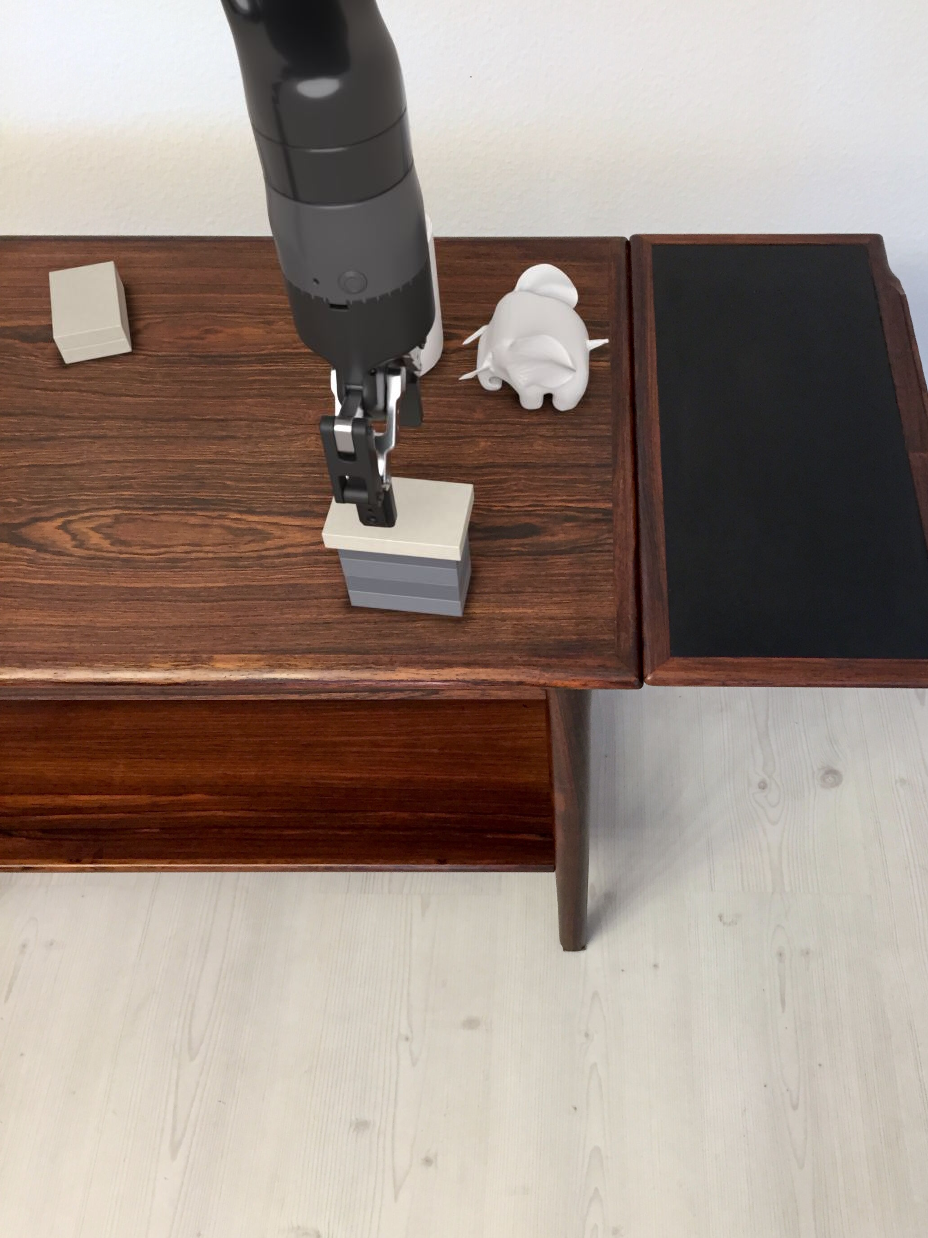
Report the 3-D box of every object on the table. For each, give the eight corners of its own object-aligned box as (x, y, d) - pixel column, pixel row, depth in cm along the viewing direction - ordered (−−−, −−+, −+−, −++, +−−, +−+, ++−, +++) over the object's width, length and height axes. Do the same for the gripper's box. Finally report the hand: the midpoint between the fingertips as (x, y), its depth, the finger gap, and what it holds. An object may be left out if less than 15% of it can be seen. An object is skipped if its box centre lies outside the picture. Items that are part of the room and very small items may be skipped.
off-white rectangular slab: (325, 547, 69) (321, 533, 68) (344, 485, 72) (340, 471, 71) (460, 561, 69) (459, 547, 67) (474, 498, 72) (473, 483, 71)
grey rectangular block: (351, 605, 76) (334, 540, 70) (364, 560, 78) (349, 493, 72) (462, 617, 75) (454, 552, 69) (471, 570, 77) (465, 504, 71)
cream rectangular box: (132, 351, 90) (121, 325, 88) (65, 364, 90) (53, 337, 87) (124, 287, 95) (113, 260, 93) (60, 298, 94) (48, 271, 92)
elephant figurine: (466, 346, 91) (459, 257, 84) (605, 349, 91) (610, 260, 83) (457, 425, 86) (449, 337, 78) (605, 429, 85) (611, 340, 78)
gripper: (314, 160, 57) (360, 388, 71) (240, 334, 49) (307, 553, 63) (451, 169, 57) (470, 397, 70) (398, 347, 49) (431, 565, 62)
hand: (393, 471), depth 67 cm, fingers open, 8 cm apart
